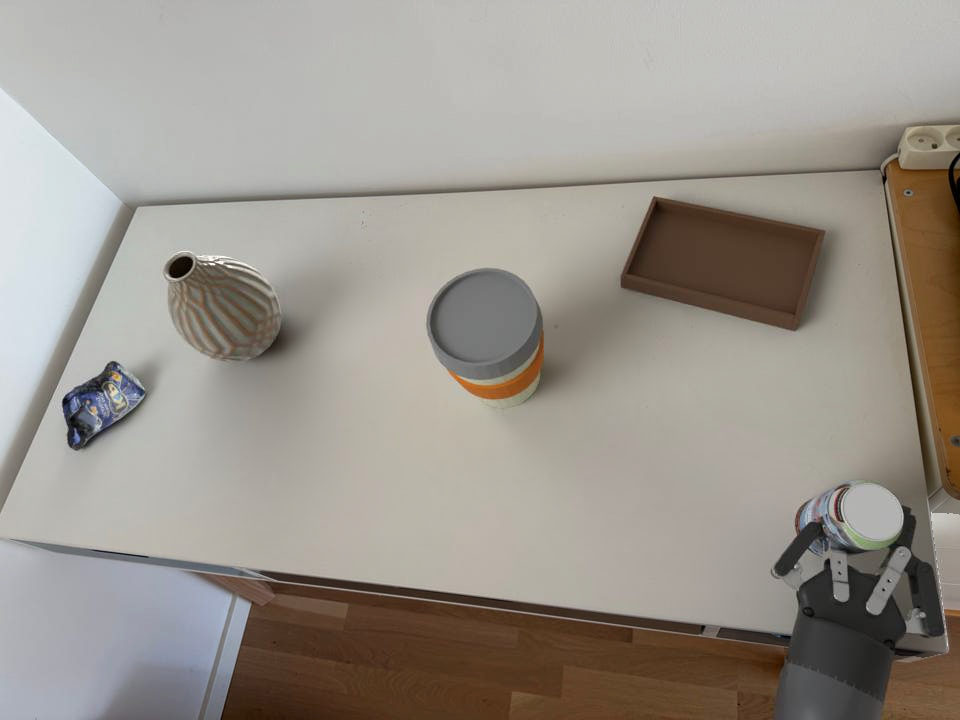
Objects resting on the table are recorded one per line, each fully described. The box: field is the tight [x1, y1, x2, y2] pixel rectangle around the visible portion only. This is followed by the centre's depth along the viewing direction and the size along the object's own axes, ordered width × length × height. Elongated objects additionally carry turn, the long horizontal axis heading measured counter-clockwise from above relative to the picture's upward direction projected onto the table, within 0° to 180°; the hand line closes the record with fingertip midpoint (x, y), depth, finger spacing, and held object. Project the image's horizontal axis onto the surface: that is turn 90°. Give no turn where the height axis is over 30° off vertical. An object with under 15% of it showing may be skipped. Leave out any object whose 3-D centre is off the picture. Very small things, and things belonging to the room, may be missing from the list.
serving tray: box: [620, 195, 826, 332], centre depth 81 cm, size 21×13×3 cm, turn 65°
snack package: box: [61, 360, 147, 452], centre depth 90 cm, size 12×6×12 cm
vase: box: [162, 250, 283, 363], centre depth 85 cm, size 13×13×18 cm
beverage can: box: [794, 479, 904, 558], centre depth 61 cm, size 6×7×12 cm
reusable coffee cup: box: [425, 267, 545, 409], centre depth 75 cm, size 12×13×15 cm
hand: (875, 499), depth 60 cm, fingers open, 4 cm apart
